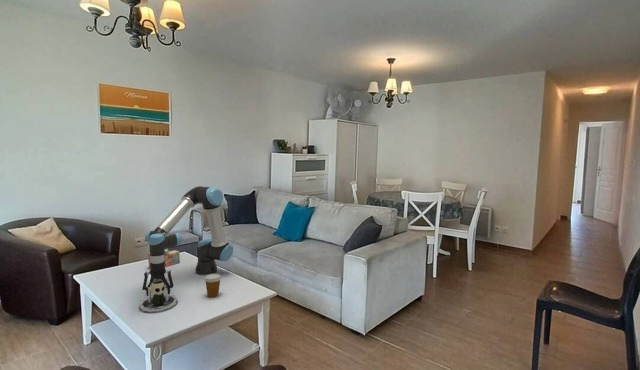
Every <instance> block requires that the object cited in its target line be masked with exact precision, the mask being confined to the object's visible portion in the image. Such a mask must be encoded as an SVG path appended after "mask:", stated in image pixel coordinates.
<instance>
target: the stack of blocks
mask: <svg viewBox="0 0 640 370" xmlns="http://www.w3.org/2000/svg"><path fill="white" fill-rule="evenodd" d="M147 255H148V257H147V258H148V269H149V270H150V263H151V262H150V252H148V254H147ZM180 258H181V257H180V251H179V250H170V251H169V249H165V268H168V267H171V266H175V265H177V264H180V262H181V260H180Z"/></svg>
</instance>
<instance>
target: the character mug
mask: <svg viewBox="0 0 640 370" xmlns="http://www.w3.org/2000/svg"><path fill="white" fill-rule="evenodd" d="M147 287H148V286H147ZM150 289H151V291H150ZM166 289H167V287H166V286H165V284H164V282H163V280H162V279H161V278H157V279H154V280H153V282H152V283H151V286H150V287H148V293H150V292H151V295H152V296H153V304H154V305H160V303H162V304H163V303H164V302H165V299H164V295H165V294H164V293H166Z"/></svg>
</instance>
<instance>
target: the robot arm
mask: <svg viewBox="0 0 640 370" xmlns="http://www.w3.org/2000/svg"><path fill="white" fill-rule="evenodd" d="M223 201H224V194H223V191H222V190H221V189H220V188H218V187H214V186H200V185H199V186H195V187H193V188H191V189H190V190H188V191H187V192H186V193H184V194H183V196H181V198H180V201H179V203H177V204H176V206H175V207H174V208H173V209H172V210H171V211H170V213H168V215H166V217H165V218H164V219H162V221H161V222H160V223H159V224H158V225H157V226H156V228H154V229H153V230H149V231H147V232H146V233H145V235H144V240H145V242H146V243H148V244H149V246H148V247H149V253H150V262H151V263H150V269H149V271H145V272H144V274H143V276H144V279H143V282H142V283H143V284H142V290H141V291H145V292H146V293H145V296H146V297H147V298H148V302H150V301H151V297H152V292H150V293H148V287H151V283H152V282H153V281H154V280H157V279H162V280H163V282H164V284H165V287H167V288H165V294H166V301H168V299H169V296H168V295H171V289H173V288H174V281H173V276H172V270H171V269H169V270H166V267H165V250H168V249H170V248H173V247H177V246H179V245H181V244H182V243H183V236H182V234H181V233H179V232H173V233H170V232H171V231H172V230H173V228H174V227H176V226H177V224H178V223H179V222H180V221H181V219H182V218H183V217H184V216H185V215H186V214H187V213H188V211H189V210H191V209H192V208H194V207H195V206H196V205H198V204H200V205H202V209H203V210H205V213H206V217H207V222H208V226H209V229H210V230H209V231H210V235H211V238H207V239H206V238H205V239H201V240H199V241H198V242H197V246H196V247H197V248H196V249H197V250H196V251H197V263H196V266H195V269H194V270H195V274H196V275H201V276H207V275H209V274H216V273H218V272H217V271H218V266H217V263H216V261H220V262H227V261H229V260H230V259H231V258H232V256H233V253H234V246H233V245H232V244H229V240H228V238H226V236H225V235H226V234H225V231H224V225H223V221H222V220H223V219H222V216H221V215H222V214H221V210H220V208H221V206H222V205H221V204H223ZM165 274H166V275H167V278H166V275H165ZM149 275H150V276H151V278H150V281H149V282H148V277H149ZM167 279H168V280H167ZM147 283H148V284H147ZM150 291H151V288H150Z"/></svg>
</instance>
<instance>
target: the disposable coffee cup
mask: <svg viewBox="0 0 640 370" xmlns="http://www.w3.org/2000/svg"><path fill="white" fill-rule="evenodd" d="M204 276H205V277H204V281H205V286H206V287H205V288H206V293H207V297H208V298H217V297H218V296H219V292H220V283H221V279H222V277H221V275H220V274H219V273H213V274H209V275H204Z"/></svg>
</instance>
